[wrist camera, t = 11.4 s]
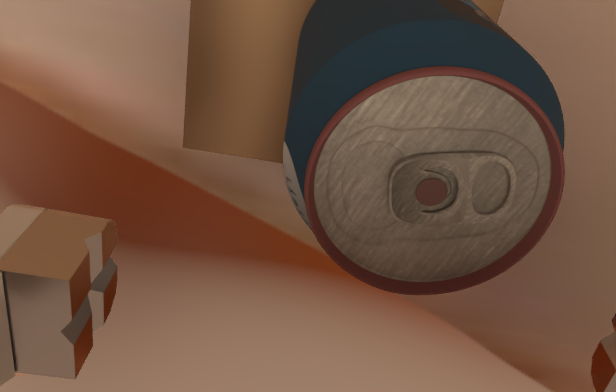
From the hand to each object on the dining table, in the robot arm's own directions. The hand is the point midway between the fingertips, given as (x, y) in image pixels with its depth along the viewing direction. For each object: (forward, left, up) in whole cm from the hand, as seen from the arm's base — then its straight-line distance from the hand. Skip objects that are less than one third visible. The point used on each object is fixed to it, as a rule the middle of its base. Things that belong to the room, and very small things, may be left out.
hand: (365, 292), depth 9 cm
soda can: (-2, 0, -16) cm, 16 cm away
